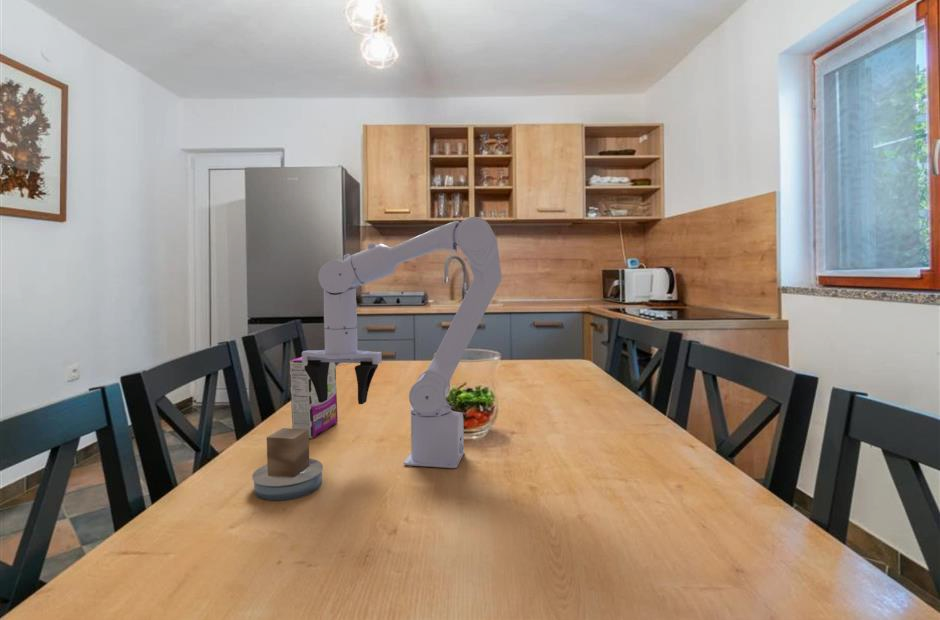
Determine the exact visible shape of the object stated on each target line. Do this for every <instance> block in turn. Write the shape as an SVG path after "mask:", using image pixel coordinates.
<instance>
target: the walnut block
mask: <svg viewBox="0 0 940 620" xmlns="http://www.w3.org/2000/svg"><path fill="white" fill-rule="evenodd" d="M266 455H267V456H266V457H267V458H266V459H267V460H266V461H267V463H266V464H267V465H268V475H272V476H287V477H295V476H297V475H298V474H299V473H301V472H302V471H303V470H304V469H306V468H307V467H308V466H309V459H310V438H309V431H308V429H293V428H286V427H285V428H284V427H282V428H281V429H278V430H276V432H273V433H272V434H270V435H268V436H267V437H266Z"/></svg>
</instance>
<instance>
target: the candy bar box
mask: <svg viewBox="0 0 940 620" xmlns="http://www.w3.org/2000/svg"><path fill="white" fill-rule="evenodd" d="M307 363H308V362H302V356H300V357H297V358H294V359H291V360H289V380H290V381H289V382H290V386H289V387H290V401H291V402H290V403H291V404H290V405H291V423H292V424H291V425H292V426H291V427H292V428H291V429H308V431H309V439H314V438H316V437H317V436H320V435H321V434H322V433H324V432H325V431H327V430H328V429H330V428H331V427H333V426H335V425H336V424H337V423H338V422H339V420H338V396H337V395H338V394H337V393H338V392H337V370H336V368H337V367H336V362H330V364H329V370H328V379H327V386H328V397H327V400H326V401H324V402H322V403H320V402H319V401H318V397H317V394H316V390H315V388H314V385H313V383H312V381H311V379H310V377H309V375H308V374H307V372H306V371H305V367H304V366H306V365H307Z"/></svg>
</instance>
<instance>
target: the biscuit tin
mask: <svg viewBox="0 0 940 620" xmlns="http://www.w3.org/2000/svg"><path fill="white" fill-rule="evenodd" d="M323 470H324V465H323V463H322V462H321V461H320V460H317V459H313V458H309V466H308V467H307V468H306V469H304V470H303V471H302V472H301V473H299V474H298V475H297V476H295V477H287V476H272V475H268V465H267V463H266V464H265V465H262V466H261V467H259V468H257V469H255V471H253V473H252V476H251V477H252V481H253V491H254V492H253V493H254V495H255V497H256V498H257V499H260V500H262V501H268V502H286V501H292V500H296V499H297V500H298V499H300V498H304V497H307V496H309V495H310V494H312V493H315V492H316V491H318V489H319V488H321V486H322V484H323V475H322V474H323Z"/></svg>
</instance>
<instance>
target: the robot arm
mask: <svg viewBox="0 0 940 620" xmlns="http://www.w3.org/2000/svg"><path fill="white" fill-rule="evenodd" d="M457 247H458V248H459V249H460V251H461V253H462V254H463V255H464V257H466V259H467V261H468V264H469V268H470V270H471V273H472V276H473V280H472V282H471V284H470V285H469V286H468V287H469V288H468V290H467V291H466V293H465V296H464V297H463V300H462V301H461V303H460V305H459V307H458V308H457V311H456V313H455V315H454V317H453V319H452V321H451V322H450V325H449V326H448V329H447V331H446V332H445V334H444V336H443V338H442V340H441V341H440V344H439V346H438V348H437V351H436V352H435V354H434V356H433V358H432V359H431V362H430V363H429V365H428V367H427V369H426V370H425V371H423V372H422V373H421V374H420V376H419V377H418V379H417V381H416V382H415V383H414V384H413V385H412V386H411V388H410V390H409V393H408V394H409V395H408V397H409V398H408V400H409V404H410V406H411V407H410V445H411V446H410V451H411V452H410V454H409V455H408V456H407V458H406V459H405V460H404V462H403V464H404V465H405V466H411V467H413V466H416V467H432V468H444V469H445V468H446V469H447V468H448V469H457V468H458V466H459V465H460V462H461V460H462V458H463V456H464V454H465V449H464V448H465V446H464V445H465V443H464V441H465V440H464V439H465V438H464V435H465V433H464V427H465V426H464V415H463V412H461V411H454V410H452V408H451V405H450V404H449V403H448V401H447V400H446V399H447V396H448V394H449V392H450V388H451V380H452V378H453V375H454V373H455V371H456V369H457V367H458V365H459V363H460V362H461V359H462V357H463V356H464V353H465V352H466V351H467V348H468V346H469V345H470V342H471V340H472V338H473V336H474V334H475V332H476V330H477V329H478V327H479V325H480V323H481V320H482V319H483V316H484V315H485V313H486V311H487V310H488V307H489V306H490V303H491V301H492V299H493V298H494V295H495V294H496V292H497V290H498V287H499V286H500V284H501V282H502V277H503V276H502V269H501V262H500V253H499V246H498V240H497V237H496V235H495V232H494V231H493V229H492V227H491V225H490V224H489V222H487V220H485V219H484V218H481V217H478V216H469V217H467V218H465V219H463V220H462V221H459V220H458V221H456V220H455V221H451V222H449V223H446V224H444V225H440V226H437V227H435V228H433V229H430V230H428V231H427V232H424V233H422V234H419V235H417V236H415V237H412V238H410V239H407V240H406V241H404V242H401V243H399V244H396V245H394V246H391V247H390V246H388V245H386V244H385V243H384V244H383V243H379V244H377V243H376V242H375V243H374V242H372V243H369V244H368V245H367V248H366V249H364V250H361V251H359V252H356V253H354V254H350V253H347V254H344V255H343V260H340V259H336V258H335V259H333V258H332V259H330V260H329V261H327V262H326V263H324V264H323V265H322V266H321V267H320V269H319V271H318V275H317V276H318V283H319V284H320V287H321V288H322V289H323V323H324V324H323V325H324V332H323V333H324V349H321V350H320V349H319V350H316V349H315V350H303V351H302V352H301V357H302V362H308V363H307V365H306V366H304V367H305V371H306V372H307V374H308V375H309V377H310V379H311V381H312V383H313V385H314V388H315V390H316V394H317V397H318V401H319V402H320V403H322V402H324V401H326V400H327V397H328V386H327V379H328V370H329V364H330V362H335V363H342V364H343V363H345V364H357V365H356V366H354V371H355V376H356V381H357V383H356V384H357V403H358V405H364V404H365V403H366V402H367V400H368V393H369V390H370V387H371V386H370V385H371V383H372V380H373V377H374V375H375V373H376V371H377V369H378V367H379V364H381V363H382V359H383V357H382V351H369V350H358V310H357V309H358V307H357V306H358V304H357V303H358V302H357V288H359V286H361V287H363V286H365V285H368V284H370V283H373V282H376V281H378V280H381V279H383V278H386V277H389V276H391V275H393V274H395V272H396V270H397V267H398V266H399V265H400V264H402V263H405V262H407V261H410V260H414V259H417V258H419V257H422V256H425V255H428V254H431V253H434V252H436V251H441V250H442V251H447V252H455V253H456V252H457V251H458V250H457V249H458V248H457Z"/></svg>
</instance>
